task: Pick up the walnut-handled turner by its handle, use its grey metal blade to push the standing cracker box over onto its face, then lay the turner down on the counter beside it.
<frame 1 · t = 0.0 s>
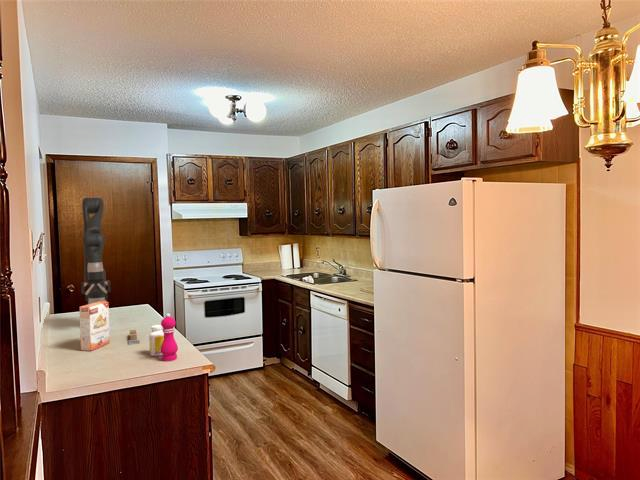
hand: (96, 300, 254), 17 cm above the worktop, tool pointing down, fingers open, 8 cm apart
cracker box: (96, 347, 227), on the worktop
turner: (133, 338, 242), on the worktop
supplement bottle: (157, 354, 214), on the worktop
pepper mill: (169, 359, 206), on the worktop
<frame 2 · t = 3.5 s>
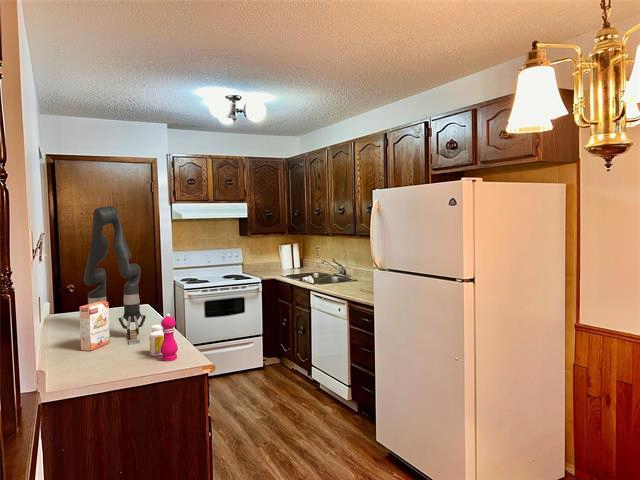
hand: (132, 335, 245), 1 cm above the worktop, tool pointing down, fingers closed on turner, 3 cm apart
turner: (133, 338, 242), on the worktop, touching gripper
everything else where it was.
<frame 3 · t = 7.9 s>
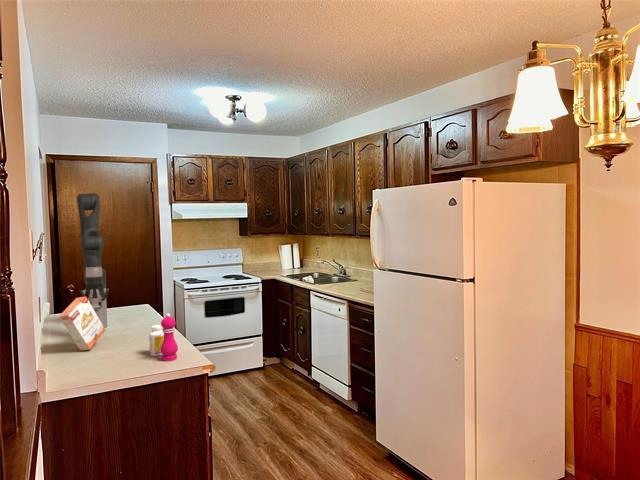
hand: (95, 309, 240), 15 cm above the worktop, tool pointing down, fingers closed on turner, 3 cm apart
cracker box: (94, 340, 226), point 3 cm above the worktop, touching turner
turner: (95, 310, 237), point 16 cm above the worktop, tilted 17°, touching cracker box, gripper
everything else where it was.
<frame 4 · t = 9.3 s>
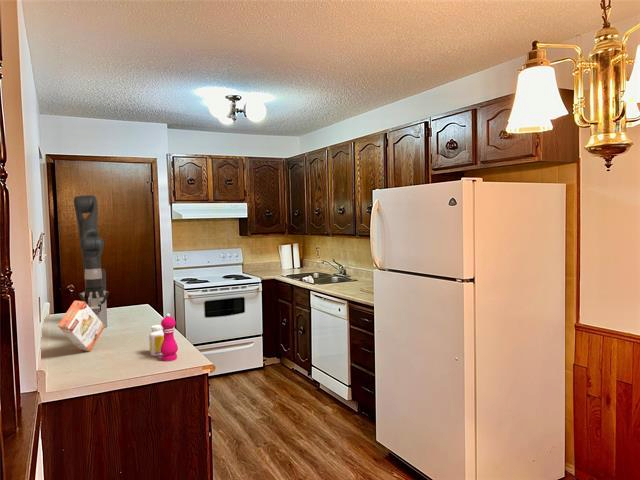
hand: (94, 312, 233), 15 cm above the worktop, tool pointing down, fingers closed on turner, 3 cm apart
cracker box: (93, 338, 225), point 5 cm above the worktop, touching turner
turner: (94, 312, 230), point 16 cm above the worktop, tilted 20°, touching cracker box, gripper
everything else where it was.
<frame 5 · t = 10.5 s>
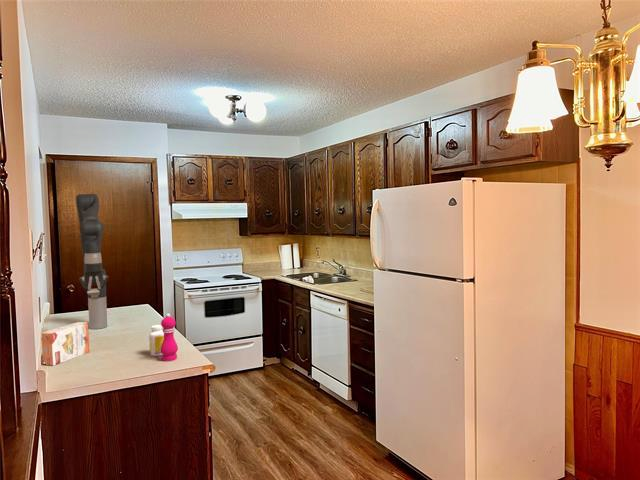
hand: (94, 296, 233), 23 cm above the worktop, tool pointing down, fingers closed on turner, 3 cm apart
cracker box: (84, 336, 220), point 7 cm above the worktop
turner: (94, 297, 230), point 23 cm above the worktop, tilted 20°, touching gripper
everything else where it was.
when the fingers open (3 cm above the worktop, at t = 15.5 s): turner drops 3 cm, on the worktop.
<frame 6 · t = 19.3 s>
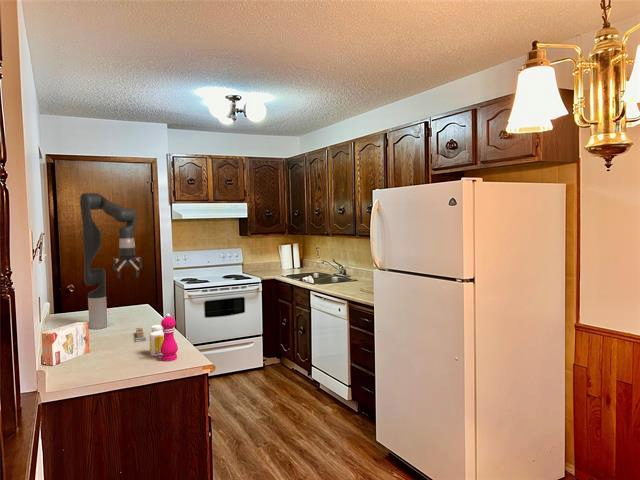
hand: (128, 277, 248), 30 cm above the worktop, tool pointing down, fingers open, 8 cm apart
turner: (139, 336, 246), on the worktop
everything else where it was.
at the end: cracker box tilted 91°; turner inside the target area (0.4 cm from its centre), on the worktop; the gripper is holding nothing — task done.
